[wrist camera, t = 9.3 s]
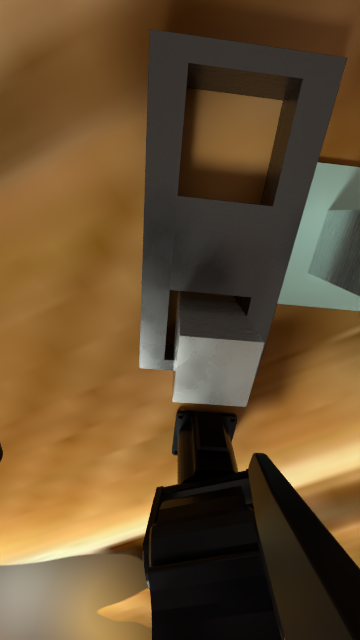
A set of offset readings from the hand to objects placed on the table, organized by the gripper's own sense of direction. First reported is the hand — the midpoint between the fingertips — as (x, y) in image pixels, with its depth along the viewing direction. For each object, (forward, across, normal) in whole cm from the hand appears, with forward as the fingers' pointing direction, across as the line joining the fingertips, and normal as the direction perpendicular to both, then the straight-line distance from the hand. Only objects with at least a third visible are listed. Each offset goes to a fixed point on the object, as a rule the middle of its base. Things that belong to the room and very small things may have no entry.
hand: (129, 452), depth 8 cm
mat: (+13, -14, -7) cm, 20 cm away
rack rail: (+13, -4, -6) cm, 15 cm away
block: (+13, -4, 0) cm, 14 cm away
